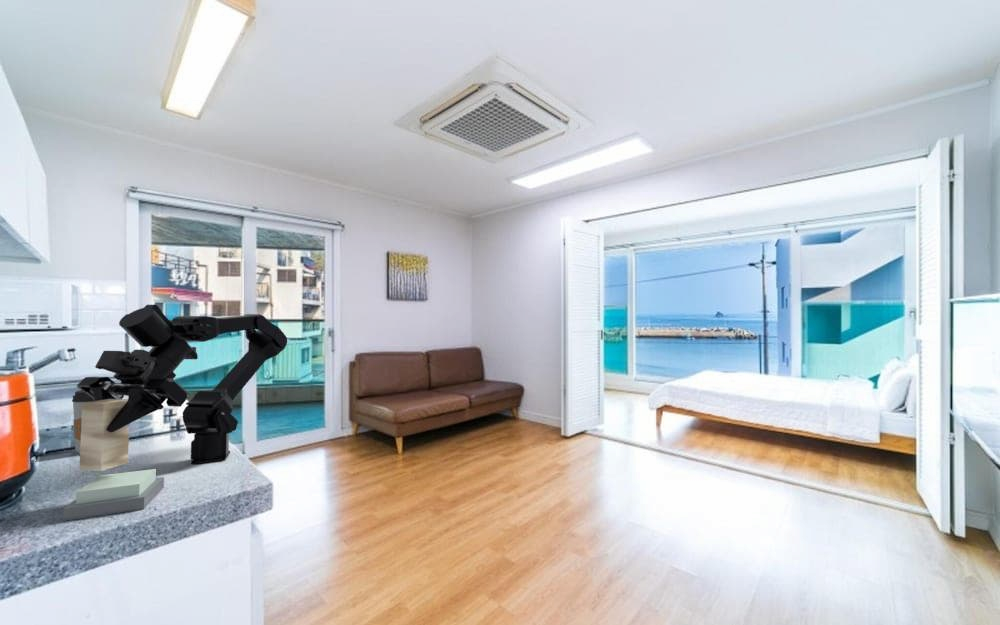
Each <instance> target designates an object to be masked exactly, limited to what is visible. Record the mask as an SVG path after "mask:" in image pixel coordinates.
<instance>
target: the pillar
mask: <svg viewBox="0 0 1000 625" xmlns="http://www.w3.org/2000/svg"><path fill="white" fill-rule="evenodd" d="M127 401H128V398H122V399H106V400H99V401H93V402H87V403H82V420H81V444H80V454H79V470H80V471H92V472H93V471H95V472H103V471H106V470H110V469H112V468H115V467H119V466H122V465H125V464H128V463H129V445H130V444H129V443H130V424H128V425H126V426H124V427H122V428H120V429H118V430H116V431H114V432H109V431H107V430H106V429H107V427H108V426H109V424H110V423H111V421H112V420H113V419H114V417H115V416H116V415H117V414H118V413H119V411H120V410H121V409H122V408H123V406H124V405H125V404H126V403H127Z"/></svg>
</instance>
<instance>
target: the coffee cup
mask: <svg viewBox="0 0 1000 625" xmlns="http://www.w3.org/2000/svg"><path fill="white" fill-rule="evenodd" d="M93 401H95V400H94V399H92V398H91V397H90V396H88V395H87V394H86V393H84V392H83V391H82V390H81V389H79V390H76V391H75V392H74V395H72V399H71V402H72V410H73V436H74V446H75V449H74V450H75V452H76V453H77V452H78V453H80V444H81V420H82V403H87V402H93ZM78 453H77V454H78Z"/></svg>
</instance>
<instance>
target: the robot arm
mask: <svg viewBox="0 0 1000 625" xmlns="http://www.w3.org/2000/svg"><path fill="white" fill-rule="evenodd" d="M118 325H119V326H120V327H121V328H122V329H123V330H124V331H125V332H126V333H127V334H128V335H129V336H130V337H131V338H132V339H133V340H134V341H135V342H136V343H137V344H138V345H139V346H141V347H144V348H147V347H150V348H151V349H150V350H145V349H134V350H132V351H122V350H103V352H102V353H101V354H100V357H99V359H98V360H97V362H96V365H95V367H94V368H96V369H98V370H104V371H108V372H111V373H113V374H114V375H113V378H114V379H116V380H117V381H120V383H116V382H115V381H114V380H112V378H110V377H109V376H85V377H84V378H83V379H82V380H81V381H79V383H78V384H76V388H78V389H79V390H82V391H83V392H84V393H86V394H87V395H88V396H90V397H91V398H92V399H94V400H95V401H99V400H106V399H124V396H126V397H128V398H127V399H128V401H127V403H126V404H125V405H124V406H123V408H122V409H121V410H120V411H119V413H118V414H117V415H116V416H115V417H114V419H113V420H112V421H111V423H110V424H109V426H108V427H107V429H106V430H107V431H109V432H114V431H116V430H118V429H120V428H122V427H124V426H126V425H128V424H129V425H130V424H131V423H133V422H135V421H137V420H139V419H141V418H143V417H145V416H147V415H150V414H151V413H153V412H156V411H158V410H159V411H160V410H163V409H164V405H163V403H164V402H165V401H166V405H167V407H174V408H175V407H177V408H181V407H182V406H183V405H184V403H185V402H186V403H185V405H187V406H185V408H184V409H183V411H182V421H183V424H184V425H185V430H186V432H187V434H189V435H190V434H191V435H192V434H194V435H193V440H192V441H191V442H190V460H191V462H190V464H191V465H195V464H203V463H213V462H219V461H220V462H221V461H226V460H227V458H228V457H229V455H230V454H231V450H229V448H230V447H229V446H230V434H231V433H233V432H234V431H236V430H237V427H238V423H239V421H238V419H237V418H236V417H235V416H234V415H232V411H233V408H234V407H233V402H234V400H235V398H236V397H237V396H238V395H239V393H240V392H241V391H242V390H243V389H244V387H245V386H246V385H247V383H249V381H250V380H251V379H252V377H254V375H255V374H256V373H257V371H258V370H259V369H260V368H261V367H262V366H263V365H264V363H265V362H266V361H268V360H270V359H272V358H274V357H276V356H278V355H279V354H281V353H282V351H284V349H286V347H287V345H288V337H287V336H286V334H285V333H284V332H283V331H282V329H281V328H280V327H279V326H277V325H275V324H273V323H272V322H271V321H269V320H268V319H267V318H266V317H265V316H264V315H263V314H261V313H260V314H259V313H256V314H254V313H253V314H252V313H247V314H243V315H234V316H226V317H225V316H224V317H216V316H209V315H208V316H207V315H206V316H205V315H177V316H175V317H173V318H172V320H170V319H169V318H168V317H167V316H166V315H165V314H164V312H163V311H162V309H161V308H160V307H159V306H158V305H157V304H146V305H145V306H144V307H142V308H139V309H138V308H137V309H136V310H133V311H131V312H130V313H127V314H125V315H123V316H122V317H121V318H120V319H119V323H118ZM241 331H242V332H243V331H245V332H244V334H245V338H246V340H247V341H248V343H247V344H248V350H247V352H246V353H244V355H243V356H242V357H241V358H240V359H239V361H238V362H236V364H235V365H234V366H233V367H232V368H231V369H230V370H229V372H228V373H227V374H226V375H225V376H224V377H223V378H222V379H221V381H219V382H218V383H217V385H216V386H215V387H214V388H213V389H212V390H199V391H197V392H196V393H195V394H194V395H193V396H192V398H191V400H189V401H188V402H187V401H186V400H188V392H187V390H186V389H184V387H183V386H181V384H180V383H178V382H177V381H176V380H175V378H176V376H177V374H176V373H175V372H174V371H175V370H176V369H177V368H178V367H179V366H180V365H181V363H183V361H184V360H197V359H198V358H199V355H198V353H197V347H195V346H191V345H190V344H189V342H190V343H191V342H192V343H193V342H198V343H201V342H202V343H204V342H207V341H210V340H213V339H216V338H217V337H218V336H220V335H223V334H229V333H234V332H241Z"/></svg>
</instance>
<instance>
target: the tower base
mask: <svg viewBox="0 0 1000 625" xmlns="http://www.w3.org/2000/svg"><path fill="white" fill-rule="evenodd" d="M156 474H157V469H156V468H153V469H144V470H136V471H129V472H128V471H127V472H119V473H110V474H101V475H99V476H96V477H95V479H93V480H91V481H90V482H89V483H87V484H86V485H85V486H83V487H81V488H80V489H79V490H76V493H75V497H76V498H75V500H73V501H71V503H69V504H68V505H67V506H64V508H63V522H64V521H71V520H79V519H87V518H93V517H99V516H105V515H113V514H117V513H118V514H119V513H124V512H126V513H128V512H134V511H139V510H140V511H141V510H145V508H147V506H149V504H151V502H152V501H153V500H155V498H156V497H157V495H159V493H160V492H161V491H162V490H164V487H165V477H164V476H161V477H157V475H156Z"/></svg>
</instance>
